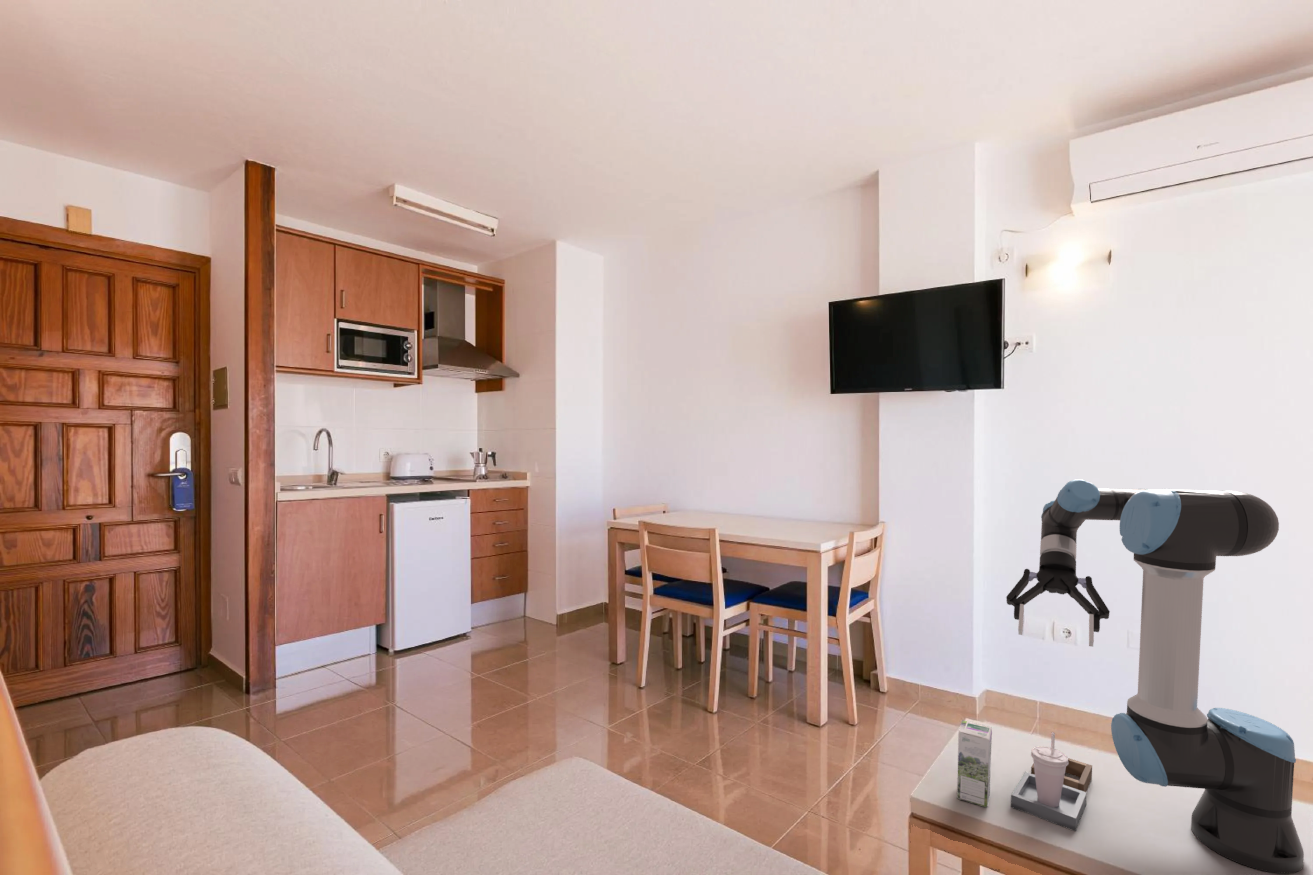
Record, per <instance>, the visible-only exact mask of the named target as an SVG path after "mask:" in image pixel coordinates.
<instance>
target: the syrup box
mask: <svg viewBox="0 0 1313 875" xmlns="http://www.w3.org/2000/svg"><path fill="white" fill-rule="evenodd" d="M992 737H993V728H992V726H989V725H984V724H980V723H977V722H973V721H972V722H971V721H968V720H963V719H962V720H961V723H960V725H959V729H958V737H957V738H958V740H957V741H958V743H957V745H958V746H957V778H956V779H957V782H956V783H957V786H956V799H958V800H960V801H963V802H967V803H970V804H974V805H977V806H981V807H983V808H984V807H985V808H988V806H989V801H990V796H991V764H992V763H991V761H992V742H993V741H992V739H993V738H992Z"/></svg>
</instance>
